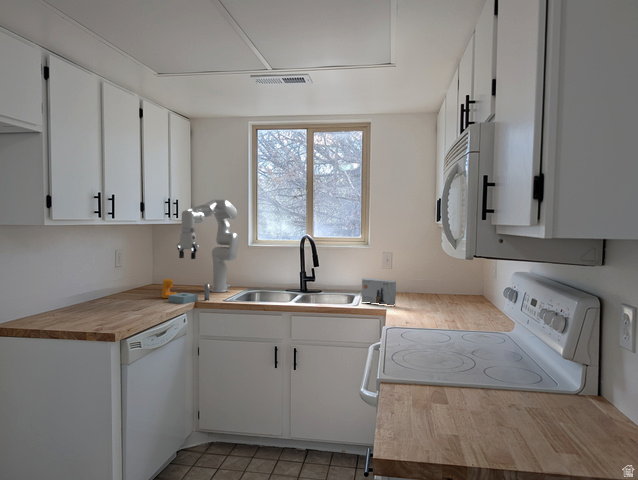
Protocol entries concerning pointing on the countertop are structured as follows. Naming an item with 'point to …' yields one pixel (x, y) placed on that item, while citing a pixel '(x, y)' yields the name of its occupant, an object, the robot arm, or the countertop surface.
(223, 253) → the robot arm
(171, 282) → the bracket
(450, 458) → the countertop surface
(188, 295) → the socket block
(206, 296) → the peg
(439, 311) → the countertop surface
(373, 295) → the skincare box
